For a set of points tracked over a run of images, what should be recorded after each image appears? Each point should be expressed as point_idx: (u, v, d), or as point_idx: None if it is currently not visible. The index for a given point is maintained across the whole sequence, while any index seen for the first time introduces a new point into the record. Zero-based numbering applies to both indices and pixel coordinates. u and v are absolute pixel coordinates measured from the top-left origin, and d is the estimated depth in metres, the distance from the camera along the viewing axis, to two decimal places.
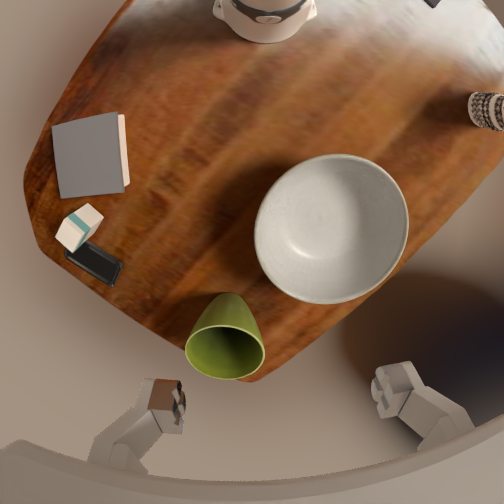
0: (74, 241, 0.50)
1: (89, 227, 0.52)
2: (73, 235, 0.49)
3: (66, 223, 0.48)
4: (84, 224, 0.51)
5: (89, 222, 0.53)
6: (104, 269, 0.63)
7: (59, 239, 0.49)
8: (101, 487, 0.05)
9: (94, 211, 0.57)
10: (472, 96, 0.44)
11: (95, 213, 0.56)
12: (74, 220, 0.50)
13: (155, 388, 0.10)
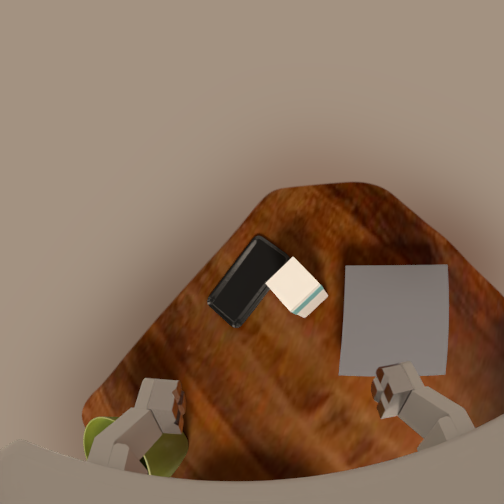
0: (282, 293, 0.37)
1: (297, 312, 0.39)
2: (292, 294, 0.37)
3: (312, 287, 0.36)
4: (303, 306, 0.39)
5: (304, 309, 0.41)
6: (232, 297, 0.50)
7: (288, 264, 0.38)
8: (101, 487, 0.05)
9: (315, 306, 0.44)
10: None
11: (312, 308, 0.44)
12: (313, 294, 0.38)
13: (155, 388, 0.10)
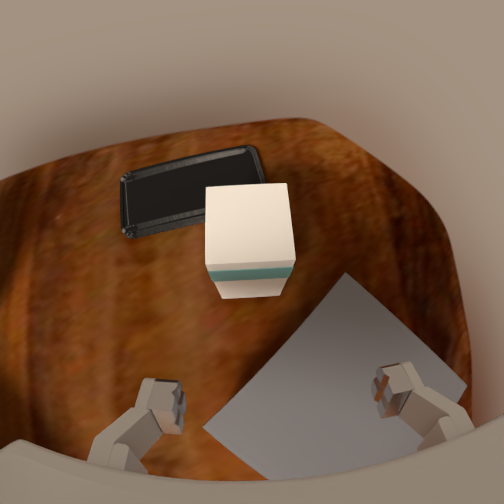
0: (218, 225, 0.17)
1: (217, 280, 0.20)
2: (232, 239, 0.17)
3: (277, 257, 0.17)
4: (234, 278, 0.19)
5: (232, 285, 0.21)
6: (153, 193, 0.29)
7: (269, 189, 0.18)
8: (101, 487, 0.05)
9: (250, 295, 0.25)
10: None
11: (244, 295, 0.25)
12: (266, 271, 0.18)
13: (155, 388, 0.10)
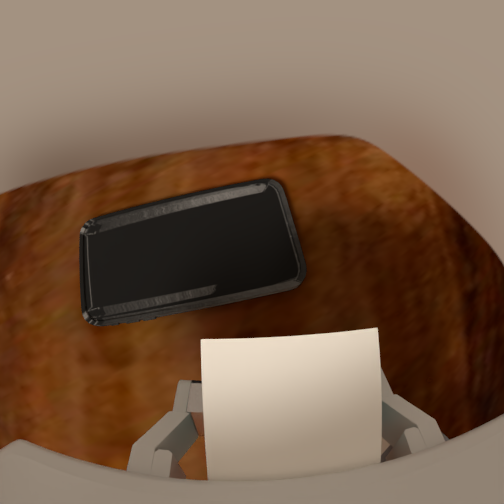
0: (232, 433, 0.07)
1: None
2: (263, 461, 0.07)
3: None
4: None
5: None
6: (125, 257, 0.19)
7: (342, 346, 0.08)
8: (101, 487, 0.05)
9: None
10: None
11: None
12: None
13: (192, 390, 0.10)
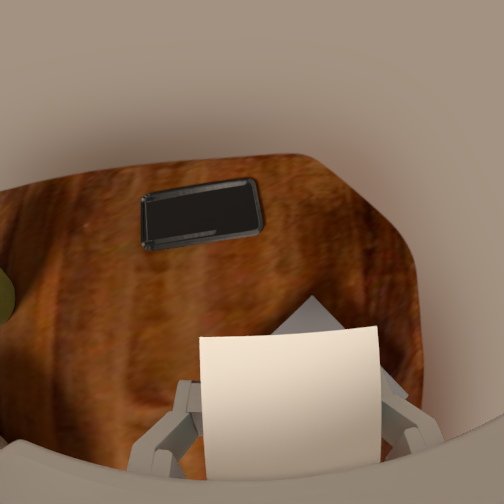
0: (231, 431, 0.07)
1: None
2: (262, 460, 0.07)
3: None
4: None
5: None
6: (168, 215, 0.36)
7: (342, 344, 0.08)
8: (101, 487, 0.05)
9: None
10: None
11: None
12: None
13: (192, 390, 0.10)
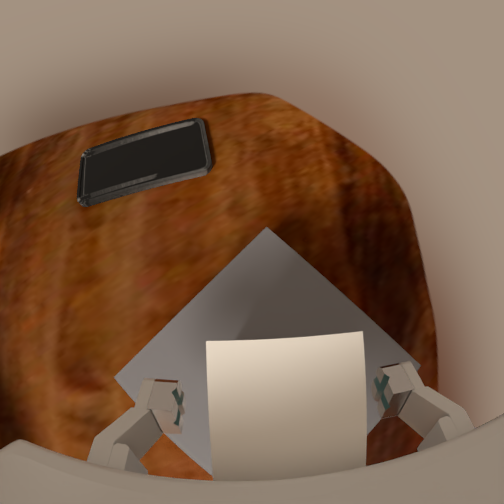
0: (233, 423, 0.08)
1: None
2: (261, 449, 0.08)
3: (336, 471, 0.07)
4: None
5: None
6: (107, 165, 0.29)
7: (330, 347, 0.09)
8: (101, 487, 0.05)
9: None
10: None
11: None
12: None
13: (155, 388, 0.10)
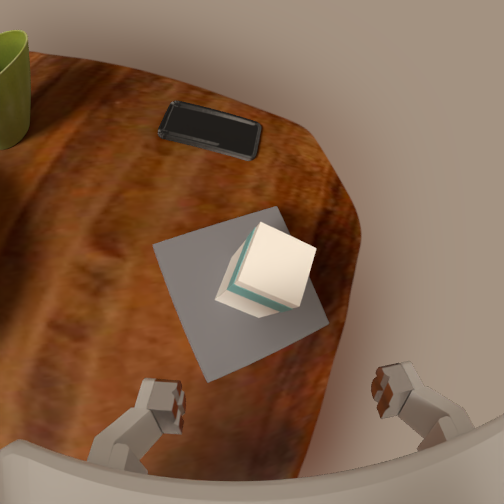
0: (258, 256, 0.22)
1: (230, 290, 0.24)
2: (264, 272, 0.22)
3: (288, 298, 0.22)
4: (244, 295, 0.24)
5: (236, 297, 0.26)
6: (187, 120, 0.41)
7: (303, 246, 0.23)
8: (101, 487, 0.05)
9: (237, 308, 0.30)
10: None
11: (234, 305, 0.29)
12: (271, 302, 0.23)
13: (155, 388, 0.10)
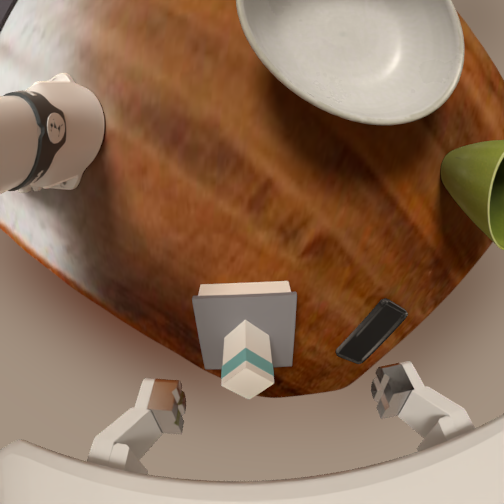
0: (255, 378, 0.36)
1: (244, 349, 0.39)
2: (246, 378, 0.36)
3: (227, 382, 0.37)
4: (238, 355, 0.39)
5: (240, 345, 0.40)
6: (386, 321, 0.51)
7: (252, 395, 0.38)
8: (101, 487, 0.05)
9: (234, 331, 0.44)
10: None
11: (236, 331, 0.44)
12: (228, 369, 0.38)
13: (155, 388, 0.10)
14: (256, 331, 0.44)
